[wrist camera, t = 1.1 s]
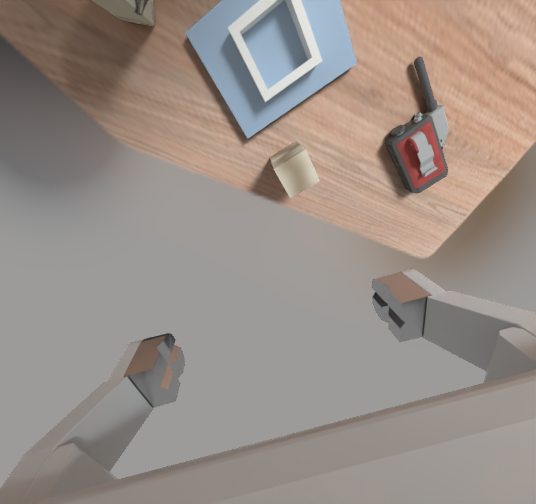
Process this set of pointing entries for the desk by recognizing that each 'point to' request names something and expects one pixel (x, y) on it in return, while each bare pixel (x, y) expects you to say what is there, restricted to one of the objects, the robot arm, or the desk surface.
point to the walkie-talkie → (421, 141)
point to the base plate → (271, 54)
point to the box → (130, 10)
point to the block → (294, 169)
